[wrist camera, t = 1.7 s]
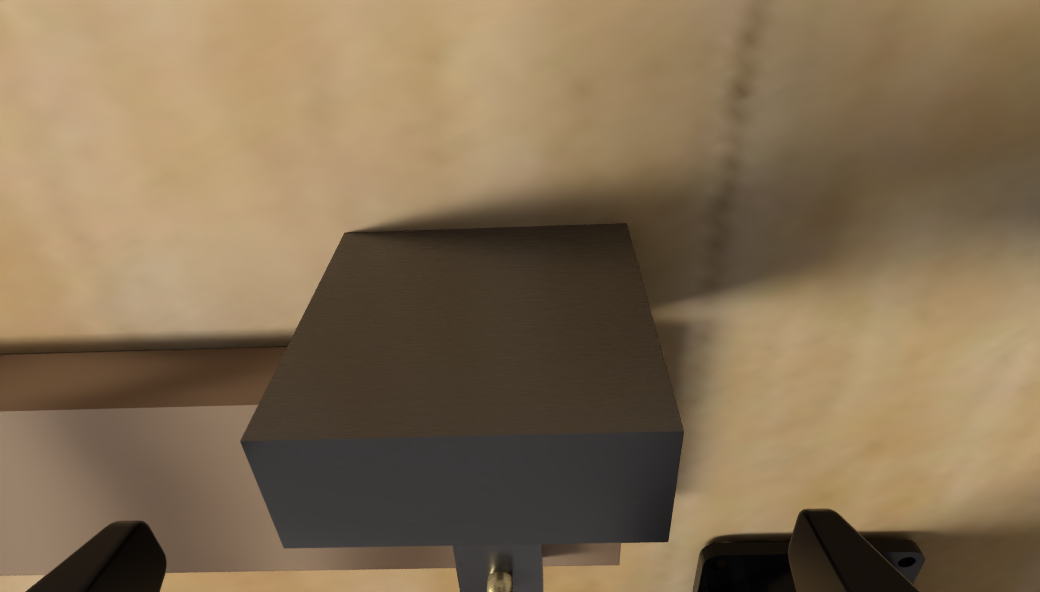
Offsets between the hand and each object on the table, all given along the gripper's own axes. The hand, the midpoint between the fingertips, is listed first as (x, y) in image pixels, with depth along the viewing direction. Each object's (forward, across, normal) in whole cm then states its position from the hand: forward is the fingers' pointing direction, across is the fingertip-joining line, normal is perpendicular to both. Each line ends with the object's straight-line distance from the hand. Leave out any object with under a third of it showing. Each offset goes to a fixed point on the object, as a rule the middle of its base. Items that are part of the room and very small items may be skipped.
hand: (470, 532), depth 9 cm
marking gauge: (+7, 0, +3) cm, 7 cm away
